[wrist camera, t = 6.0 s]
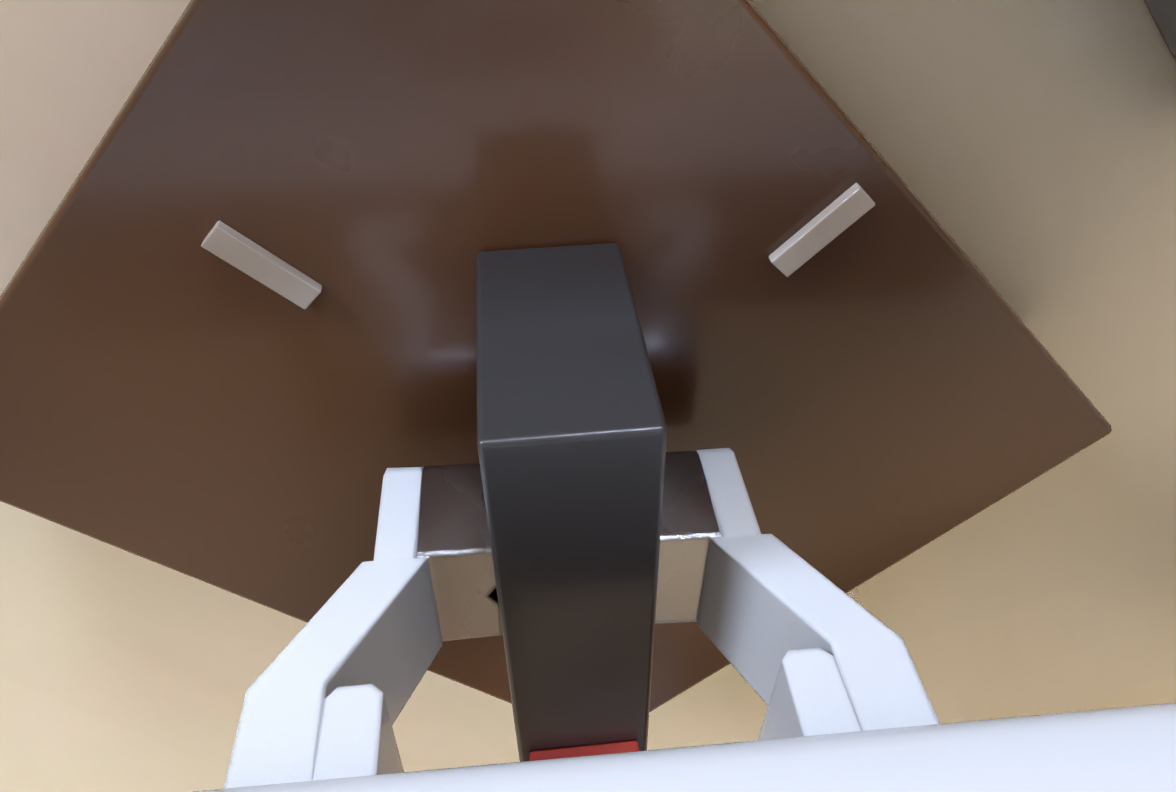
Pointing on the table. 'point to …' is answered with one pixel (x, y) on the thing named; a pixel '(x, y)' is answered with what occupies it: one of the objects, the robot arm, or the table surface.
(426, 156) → the dial base
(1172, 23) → the button box
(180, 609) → the table surface
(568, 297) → the lever
